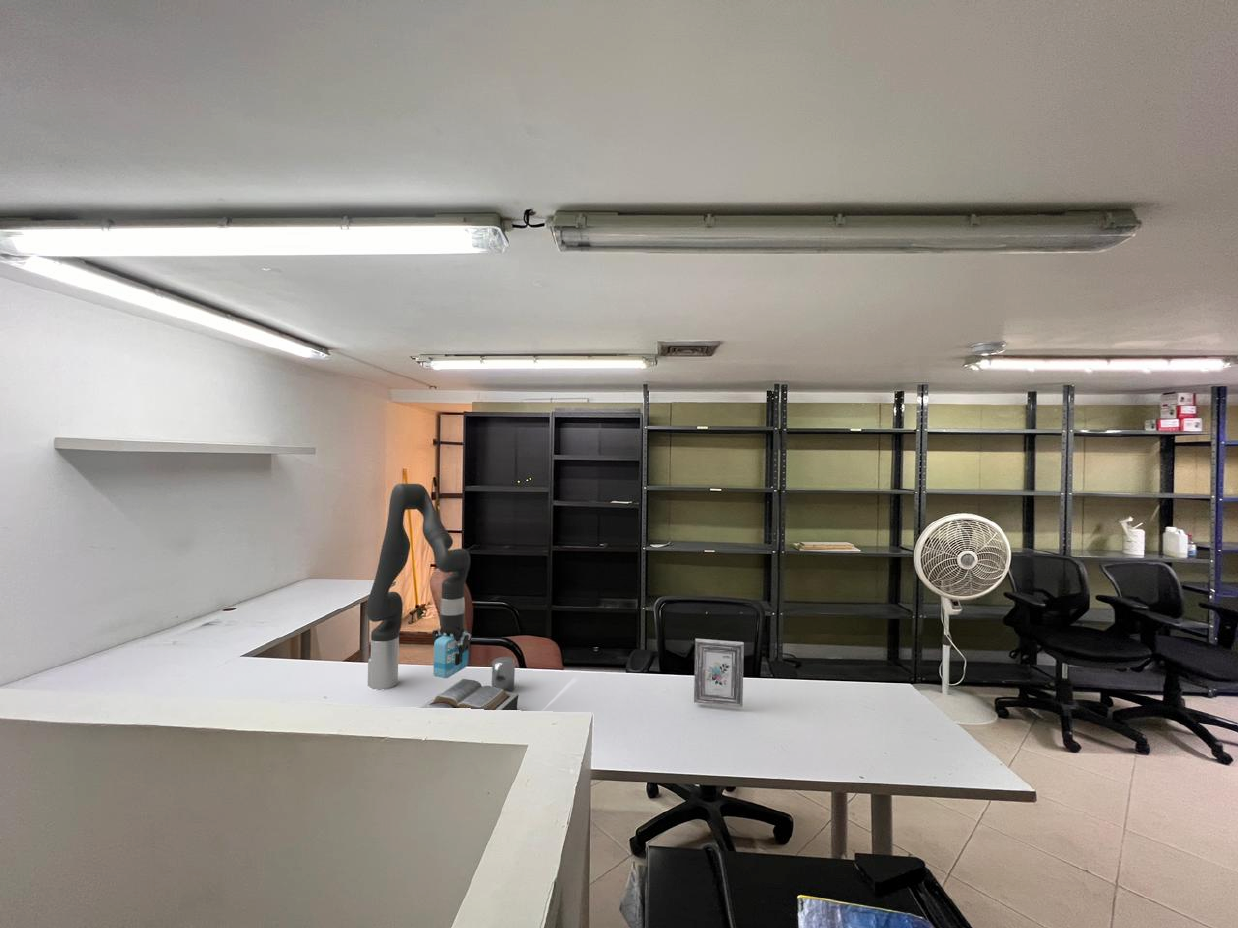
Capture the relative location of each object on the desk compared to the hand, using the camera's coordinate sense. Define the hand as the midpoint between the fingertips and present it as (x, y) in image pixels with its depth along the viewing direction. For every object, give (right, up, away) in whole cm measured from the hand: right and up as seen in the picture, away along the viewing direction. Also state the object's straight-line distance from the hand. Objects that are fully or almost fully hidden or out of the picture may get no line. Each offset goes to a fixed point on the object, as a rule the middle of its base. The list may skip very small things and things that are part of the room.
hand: (451, 662), depth 159 cm
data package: (0, -3, 0) cm, 3 cm away
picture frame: (+89, -19, +11) cm, 92 cm away
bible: (+7, -17, -4) cm, 19 cm away
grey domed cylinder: (+13, -17, +18) cm, 27 cm away
